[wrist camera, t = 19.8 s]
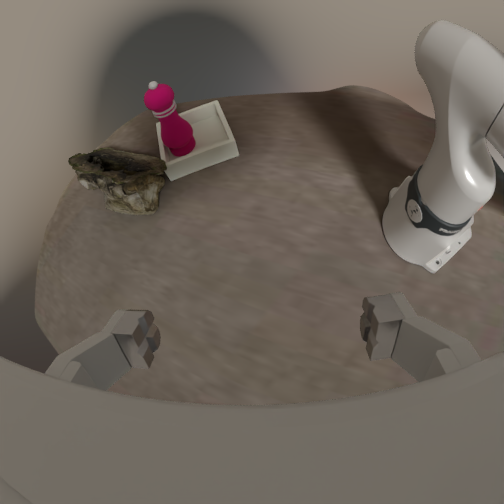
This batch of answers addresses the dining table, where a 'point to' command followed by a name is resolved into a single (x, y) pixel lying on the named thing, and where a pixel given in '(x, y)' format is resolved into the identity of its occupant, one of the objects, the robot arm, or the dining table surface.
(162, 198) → the dining table surface
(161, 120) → the pepper mill
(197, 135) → the tray
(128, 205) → the hollow geode rock
